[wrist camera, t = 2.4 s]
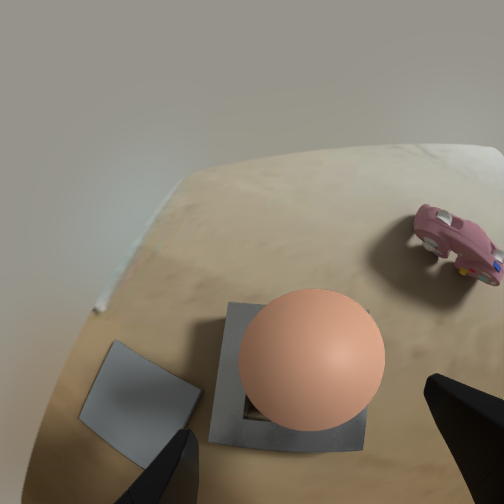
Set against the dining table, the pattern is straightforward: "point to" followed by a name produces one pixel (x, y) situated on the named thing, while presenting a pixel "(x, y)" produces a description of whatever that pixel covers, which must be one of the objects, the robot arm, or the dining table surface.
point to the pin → (311, 360)
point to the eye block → (261, 428)
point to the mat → (137, 404)
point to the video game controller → (460, 243)
